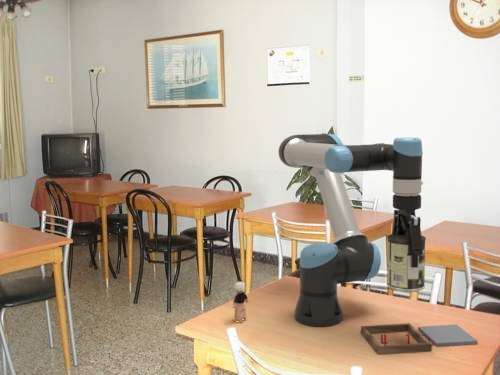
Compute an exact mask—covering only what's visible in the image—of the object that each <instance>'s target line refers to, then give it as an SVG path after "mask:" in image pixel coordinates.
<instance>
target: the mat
mask: <svg viewBox="0 0 500 375" xmlns="http://www.w3.org/2000/svg"><path fill="white" fill-rule="evenodd" d="M417 331H418V332H419V333H420V334H422V335H423V336H424V337H425V338H426V339H427V340H428V341H429V342H430V343H431V344H432V345H434V346H435V347H436V348H438V347H451V346H452V347H454V346H455V345H456V346H466V345H465V344H471V345H478V340H477V339H476V338H475V337H473V336H472V335H471V334H469V333H468V332H467V331H466V330H464V329H463V328H462V327H461V326H459V325H458V324H441V325H425V326H418V327H417Z"/></svg>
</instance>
